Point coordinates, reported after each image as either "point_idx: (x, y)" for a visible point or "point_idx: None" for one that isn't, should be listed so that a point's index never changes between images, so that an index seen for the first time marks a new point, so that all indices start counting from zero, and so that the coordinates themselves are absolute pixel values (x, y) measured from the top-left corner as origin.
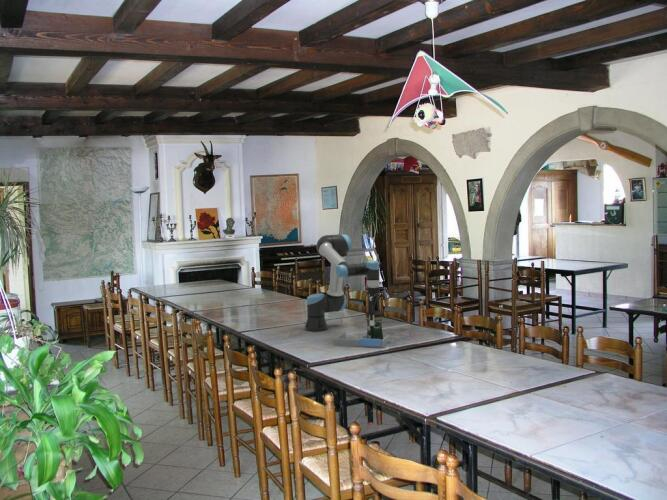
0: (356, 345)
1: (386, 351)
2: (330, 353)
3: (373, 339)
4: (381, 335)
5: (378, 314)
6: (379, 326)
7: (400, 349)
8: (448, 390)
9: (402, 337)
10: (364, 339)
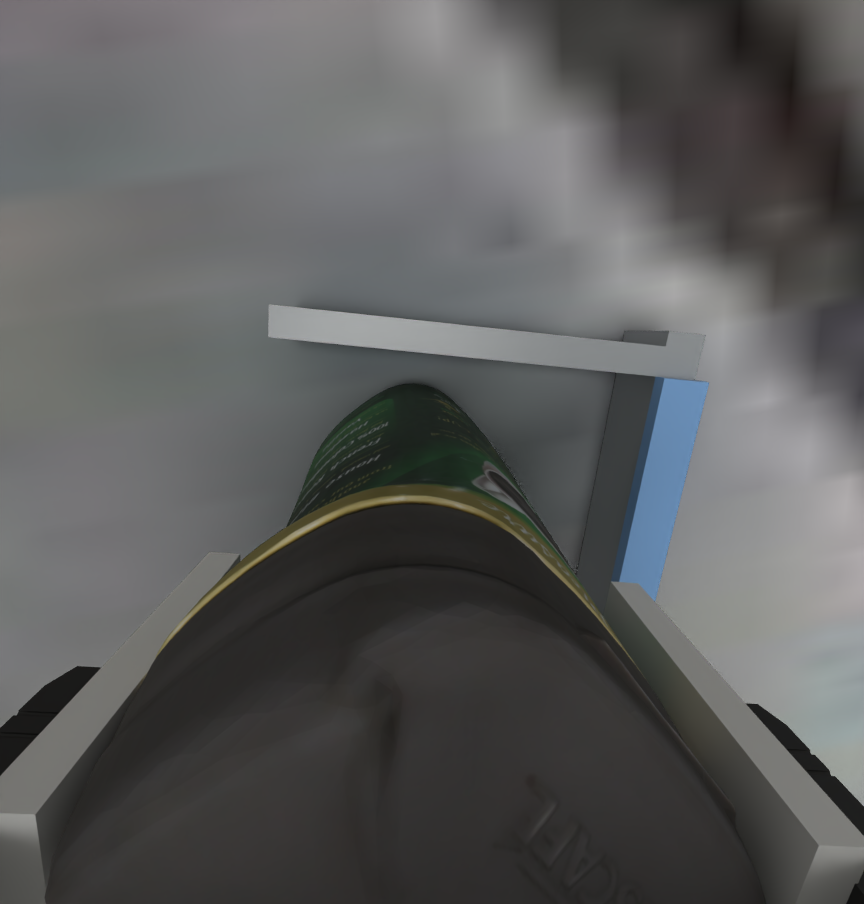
0: None
1: (836, 270)
2: (854, 780)
3: (683, 483)
4: (454, 410)
5: (630, 688)
6: (503, 477)
7: (746, 89)
8: None
9: (5, 156)
10: (652, 597)
